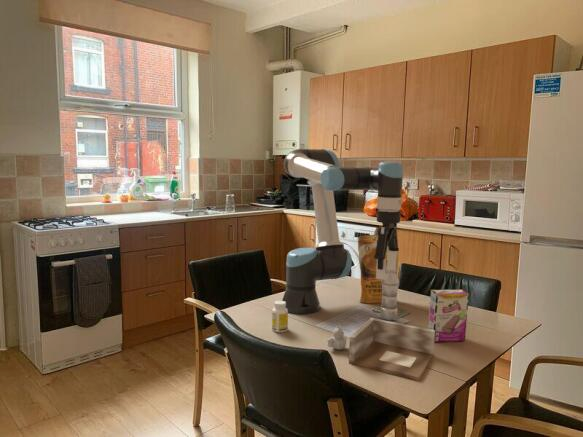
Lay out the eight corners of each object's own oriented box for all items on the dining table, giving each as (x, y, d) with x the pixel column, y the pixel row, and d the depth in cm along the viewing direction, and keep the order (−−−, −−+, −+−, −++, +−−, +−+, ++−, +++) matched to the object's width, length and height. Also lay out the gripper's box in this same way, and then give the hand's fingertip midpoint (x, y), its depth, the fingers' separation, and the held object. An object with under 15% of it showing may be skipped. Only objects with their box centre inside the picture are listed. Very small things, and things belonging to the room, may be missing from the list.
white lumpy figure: (350, 350, 134) (351, 325, 133) (331, 354, 131) (332, 328, 130) (340, 344, 139) (341, 319, 138) (322, 347, 136) (323, 322, 135)
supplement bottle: (289, 328, 152) (290, 300, 150) (284, 333, 147) (284, 305, 145) (275, 326, 153) (275, 299, 152) (269, 331, 148) (269, 303, 147)
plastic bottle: (387, 323, 157) (390, 269, 155) (375, 317, 163) (378, 265, 160) (401, 321, 160) (404, 267, 157) (389, 315, 166) (391, 263, 163)
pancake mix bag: (352, 299, 184) (354, 234, 181) (394, 297, 189) (397, 233, 185) (358, 304, 178) (361, 237, 174) (401, 302, 182) (404, 236, 179)
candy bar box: (433, 343, 141) (436, 294, 139) (426, 337, 146) (429, 289, 144) (466, 342, 142) (469, 293, 140) (458, 335, 147) (461, 288, 145)
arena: (348, 363, 126) (349, 336, 125) (370, 341, 141) (371, 317, 140) (418, 381, 116) (420, 352, 115) (433, 355, 131) (434, 330, 130)
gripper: (390, 214, 128) (387, 285, 131) (408, 207, 150) (405, 267, 153) (366, 213, 131) (363, 281, 134) (387, 206, 153) (384, 265, 156)
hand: (385, 274), depth 143 cm, fingers open, 13 cm apart
